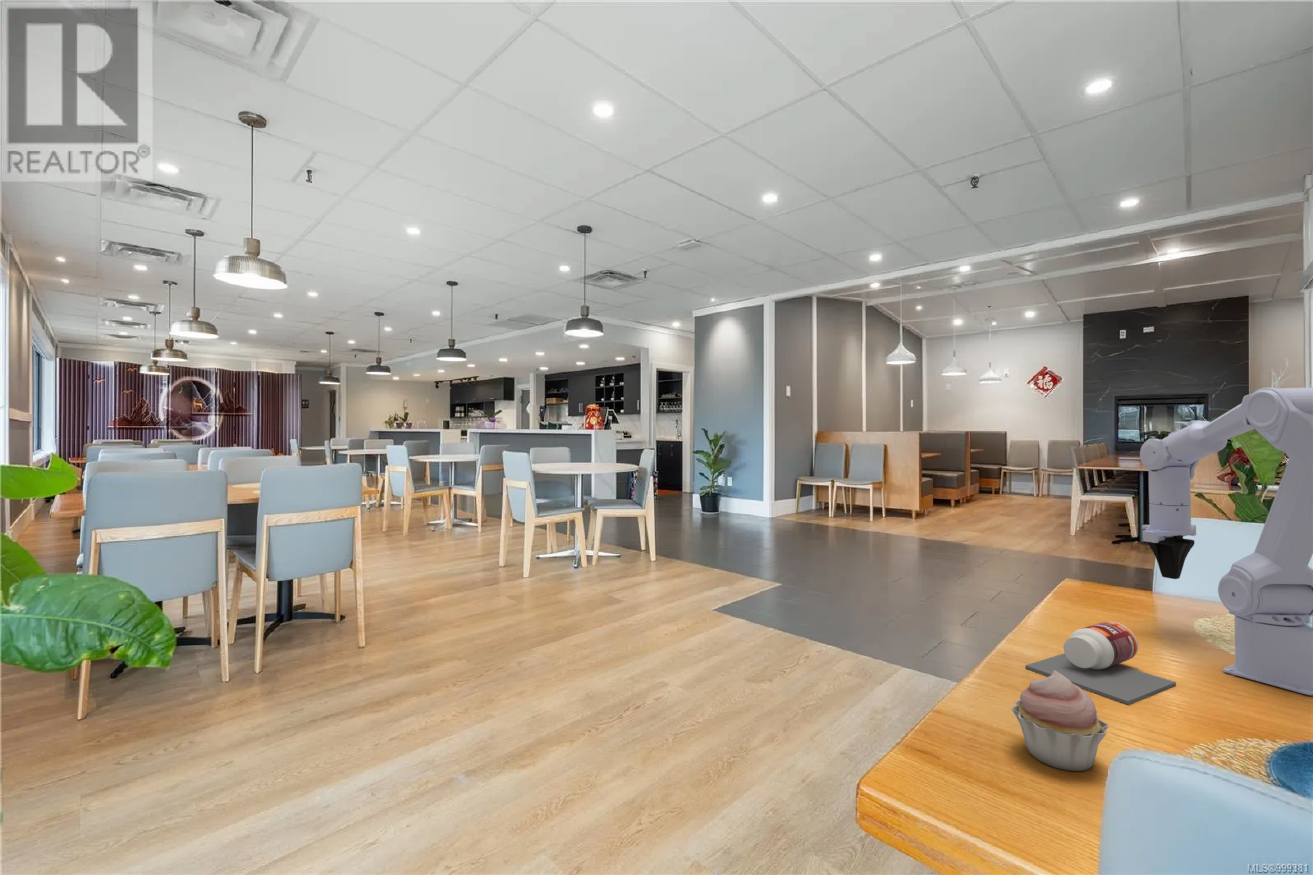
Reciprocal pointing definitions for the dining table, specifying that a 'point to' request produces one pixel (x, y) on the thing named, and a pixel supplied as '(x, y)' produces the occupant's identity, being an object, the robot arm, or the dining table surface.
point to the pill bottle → (1101, 645)
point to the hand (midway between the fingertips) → (1170, 577)
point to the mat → (1105, 679)
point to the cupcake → (1059, 723)
